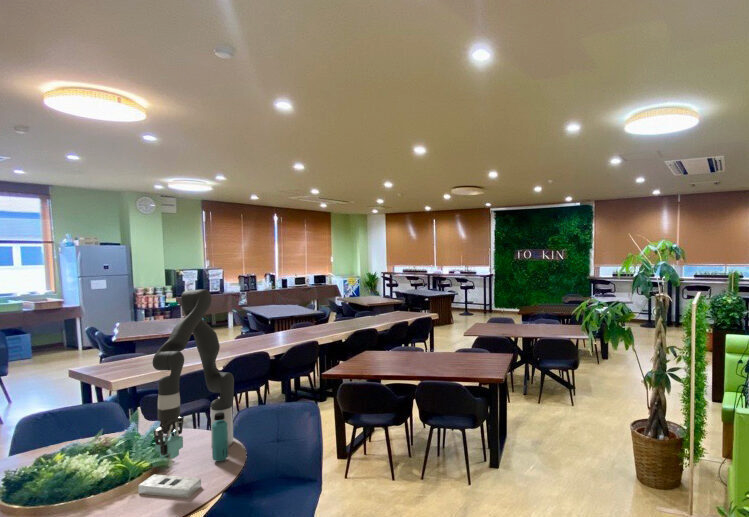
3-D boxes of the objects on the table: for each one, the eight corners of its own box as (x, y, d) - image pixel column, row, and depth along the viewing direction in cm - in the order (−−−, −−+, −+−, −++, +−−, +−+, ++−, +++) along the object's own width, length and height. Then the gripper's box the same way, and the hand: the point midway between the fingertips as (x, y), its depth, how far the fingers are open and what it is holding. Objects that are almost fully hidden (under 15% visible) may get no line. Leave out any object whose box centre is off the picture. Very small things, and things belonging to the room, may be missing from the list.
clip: (155, 458, 154) (155, 440, 154) (165, 452, 160) (164, 435, 160) (173, 460, 153) (173, 442, 153) (183, 453, 158) (182, 436, 158)
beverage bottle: (223, 465, 175) (222, 416, 175) (208, 463, 176) (208, 415, 176) (231, 458, 181) (230, 411, 181) (217, 456, 182) (216, 410, 183)
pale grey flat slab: (153, 482, 162) (153, 474, 162) (200, 486, 158) (200, 478, 158) (138, 493, 154) (138, 485, 154) (187, 498, 150) (187, 489, 150)
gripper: (172, 398, 164) (173, 442, 164) (146, 411, 150) (146, 459, 150) (190, 399, 163) (190, 443, 163) (164, 412, 149) (165, 460, 148)
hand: (169, 450), depth 156 cm, fingers closed on clip, 5 cm apart
